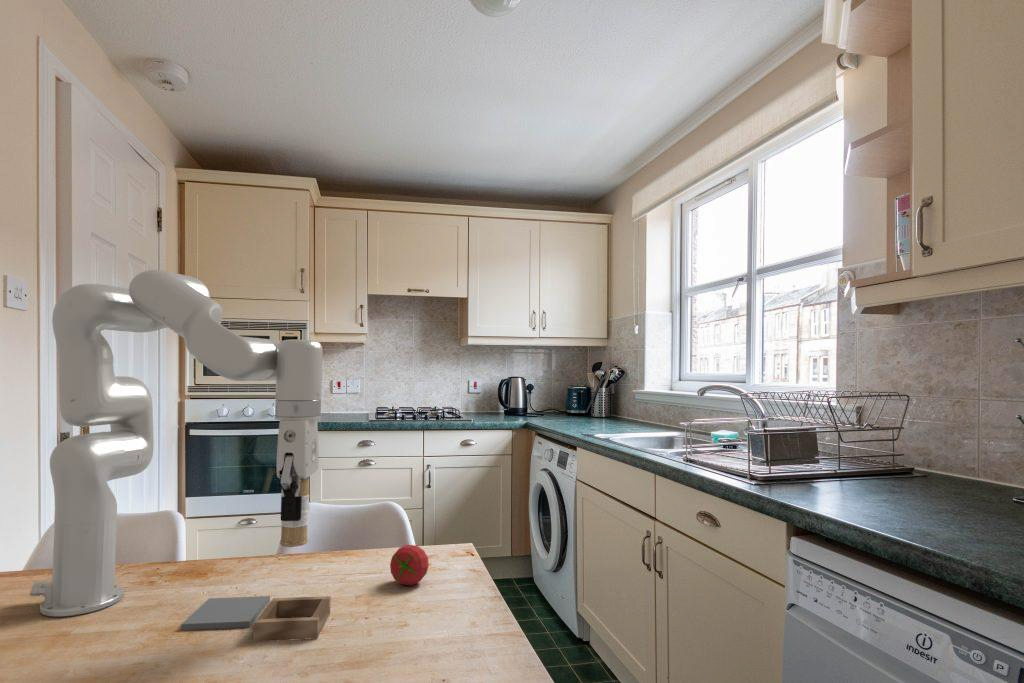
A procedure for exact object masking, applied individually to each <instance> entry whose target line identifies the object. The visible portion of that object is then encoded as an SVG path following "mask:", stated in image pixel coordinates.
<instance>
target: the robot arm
mask: <svg viewBox="0 0 1024 683" xmlns="http://www.w3.org/2000/svg"><path fill="white" fill-rule="evenodd" d="M223 313H224V312H223V308H222V306H221V304H219V303H218V302H217V301H215V300H213V299H211V293H210V290H209V288H208V287H207V285H206V284H205V283H204V282H203V281H201V280H200V279H198V278H196V277H193V276H190V275H185V274H181V273H176V272H172V271H167V270H162V269H150V270H149V269H148V270H145V271H141V272H139V273H138V274H136V275H135V276H134V277H133V278H132V279H131V280H130V283H129V286H128V288H126V287H120V286H114V285H107V284H100V283H84V284H78V285H74V286H72V287H70V288H68V289H66V290H65V291H64V292H63V293H61V295H60V296H59V297H58V299H57V300H56V303H55V304H54V307H53V310H52V315H51V316H52V319H51V320H52V321H51V322H52V323H51V324H52V330H53V334H54V339H55V344H56V348H57V354H58V397H59V398H58V399H59V401H58V402H59V404H58V405H59V412H60V416H61V418H62V420H63V421H64V422H65V423H66V424H67V425H70V426H74V427H94V426H96V427H97V426H105V425H106V426H107V425H110V431H99V432H90V433H84V434H82V433H81V434H77V435H74V436H71V437H70V436H69V437H68V438H66V439H63V440H62V441H61V442H59V443H58V444H57V445H56V446H55V447H54V449H53V450H52V452H51V453H50V457H49V469H50V470H49V471H50V476H51V479H52V486H53V491H54V492H53V493H54V518H53V519H54V527H53V528H54V530H53V532H54V533H53V549H52V550H53V551H52V554H53V555H52V573H51V575H52V576H51V581H46V580H45V581H43V580H42V581H35V582H34V583H33V584H32V586H31V589H30V592H29V595H30V597H36V596H37V597H38V596H39V597H40V596H42V597H43V598H44V600H43V601H42V602H41V603H40V605H39V613H41V614H42V615H44V616H47V617H54V618H55V617H57V618H58V617H71V616H77V615H78V616H79V615H83V614H88V613H92V612H96V611H99V610H102V609H105V608H108V607H110V606H112V605H114V604H116V603H118V602H119V601H120V600H122V599H123V598H124V594H125V593H124V592H125V589H124V588H123V587H121V586H120V585H115V581H116V579H115V576H116V555H117V554H116V552H117V551H116V550H117V524H118V523H117V522H118V502H117V499H116V496H115V494H114V493H113V491H112V490H111V488H110V486H109V484H108V482H110V481H113V480H118V479H122V478H127V477H128V478H129V477H131V476H135V475H138V474H140V473H142V472H144V471H145V470H146V469H147V468H148V467H149V466H150V464H151V462H152V459H153V455H154V415H153V412H154V410H153V409H154V408H153V400H152V399H153V398H152V395H151V392H150V390H149V388H148V386H147V385H146V384H145V383H144V382H143V381H142V380H140V379H138V378H135V377H133V376H115V370H114V369H115V368H114V354H113V351H112V348H111V346H110V343H108V342H109V341H108V340H107V339H106V338H105V336H103V334H102V333H101V332H102V331H104V330H108V331H116V332H117V331H119V332H130V333H152V332H155V331H159V330H162V329H166V328H168V329H170V330H171V331H173V332H174V333H175V334H177V335H178V336H180V337H181V338H183V341H184V345H185V347H186V349H187V351H188V352H189V354H190V355H191V356H192V357H193V359H195V360H196V361H197V362H198V363H199V364H201V365H203V366H204V367H206V368H207V369H209V370H211V372H213V373H215V374H217V375H218V376H221V377H222V378H224V379H226V380H229V381H230V380H231V381H234V382H248V381H249V382H250V381H251V382H252V381H255V382H256V381H257V382H263V381H264V382H267V381H269V382H270V381H275V404H274V405H275V406H274V420H276V421H277V420H278V421H279V423H278V424H279V425H278V432H277V433H278V435H277V444H276V446H277V447H276V476H277V478H278V479H280V485H281V492H280V496H281V498H280V499H281V500H280V520H281V521H299V520H300V519H301V505H302V496H300V486H301V476H302V478H303V479H306V478H308V477H311V476H312V475H313V474H314V473H316V471H317V470H318V469H319V430H318V429H319V427H318V420H320V419H322V418H321V417H322V389H323V388H322V387H323V386H322V384H323V381H322V380H323V356H324V355H323V353H324V352H323V347H322V346H323V345H322V344H321V343H320V342H319V341H318V340H313V339H295V338H294V339H284V340H278V339H271V338H260V337H251V336H250V337H249V336H241V335H239V334H237V333H235V332H234V331H232V330H230V329H229V328H227V327H225V326H224V325H222V321H223V316H224V314H223ZM283 467H284V468H283ZM292 474H297V478H291V476H292ZM292 482H296V487H295V485H294V483H292Z"/></svg>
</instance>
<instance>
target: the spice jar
mask: <svg viewBox="0 0 1024 683" xmlns="http://www.w3.org/2000/svg"><path fill="white" fill-rule="evenodd" d="M283 468H284V467H283ZM291 478H297V474H292V476H291ZM310 478H311V476H309V477H308V478H306V479H303V478H302V476H301V486H300V496H302V505H301V519H300V520H299V521H281V522H280V525H281V528H280V530H281V532H280V533H281V534H280V541H279V544H280V546H282V547H285V548H294V547H296V548H297V547H302V546H304V545H306V544H307V543H308V542H309V539H308V524H309V510H310ZM292 483H294V485H295V487H296V482H292Z"/></svg>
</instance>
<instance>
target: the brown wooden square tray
mask: <svg viewBox="0 0 1024 683" xmlns="http://www.w3.org/2000/svg"><path fill="white" fill-rule="evenodd" d="M331 602H332V601H331V595H327V596H323V595H322V596H300V597H273V598H272V599H270V602H269V603H268V604H267V606H266V607H265V608H264V609H263V611H262V612H261V613H260V615H259V616H258V617H257V618H256V620H255V621H254V622H253V642H254V643H256V642H275V641H276V642H278V641H277V640H279V641H292V640H291V639H301V640H309V639H308V638H317V639H319V636H320V635H321V633H320V632H322V630H323V629H324V627H325V625H326V622H327V621H328V619H329V616H330V615H331ZM306 616H307V617H306ZM308 616H312V617H308ZM283 617H284V618H283ZM285 617H286V618H285ZM287 617H291V618H287ZM319 634H320V635H319ZM306 638H307V639H306ZM289 639H290V640H289ZM255 641H256V642H255Z"/></svg>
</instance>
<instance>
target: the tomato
mask: <svg viewBox="0 0 1024 683" xmlns="http://www.w3.org/2000/svg"><path fill="white" fill-rule="evenodd" d="M389 564H390V565H389V567H390V574H391V575H392V578H393V579H394V580H395V581H396V582H397V583H399V584H400V585H403V586H410V585H411V586H414V585H416V584H418V583H419V582H421V581H422V580H423V578H425V576H426V575H427V573H428V569H429V567H430V564H429V557H428V555H427V553H426V552H425V550H424V549H423V548H421V547H419V546H418V545H416V544H415V545H414V544H406V545H403V546H401V547H399V548H398V549H397V550H396V551H395V552H394V553H393V555H392V557H391V560H390V563H389Z"/></svg>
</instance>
